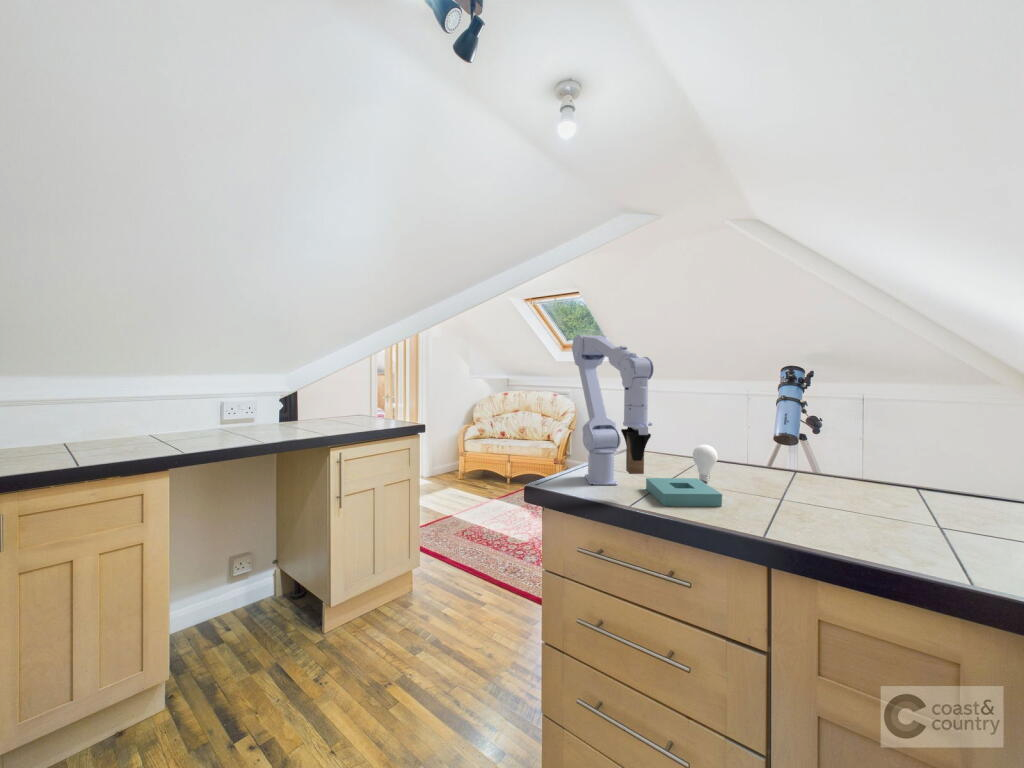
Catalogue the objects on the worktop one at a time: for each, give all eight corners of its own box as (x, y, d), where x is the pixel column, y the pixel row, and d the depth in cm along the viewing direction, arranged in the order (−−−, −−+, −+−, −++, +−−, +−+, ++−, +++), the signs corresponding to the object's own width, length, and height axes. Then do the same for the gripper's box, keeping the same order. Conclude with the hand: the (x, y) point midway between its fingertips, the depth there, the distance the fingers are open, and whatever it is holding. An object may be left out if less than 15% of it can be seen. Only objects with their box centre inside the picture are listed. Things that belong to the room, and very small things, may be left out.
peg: (626, 470, 108) (626, 431, 108) (639, 470, 108) (640, 432, 108) (629, 473, 105) (630, 434, 104) (643, 474, 105) (644, 434, 104)
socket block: (646, 488, 116) (646, 478, 116) (697, 489, 115) (697, 478, 115) (663, 505, 102) (663, 493, 102) (721, 506, 101) (722, 494, 101)
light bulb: (711, 479, 125) (712, 442, 125) (720, 485, 119) (721, 447, 118) (688, 478, 126) (689, 442, 125) (696, 485, 119) (697, 446, 119)
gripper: (661, 408, 98) (660, 465, 99) (643, 402, 113) (642, 452, 114) (631, 408, 99) (630, 465, 99) (617, 402, 113) (616, 452, 114)
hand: (635, 458), depth 106 cm, fingers closed on peg, 3 cm apart
